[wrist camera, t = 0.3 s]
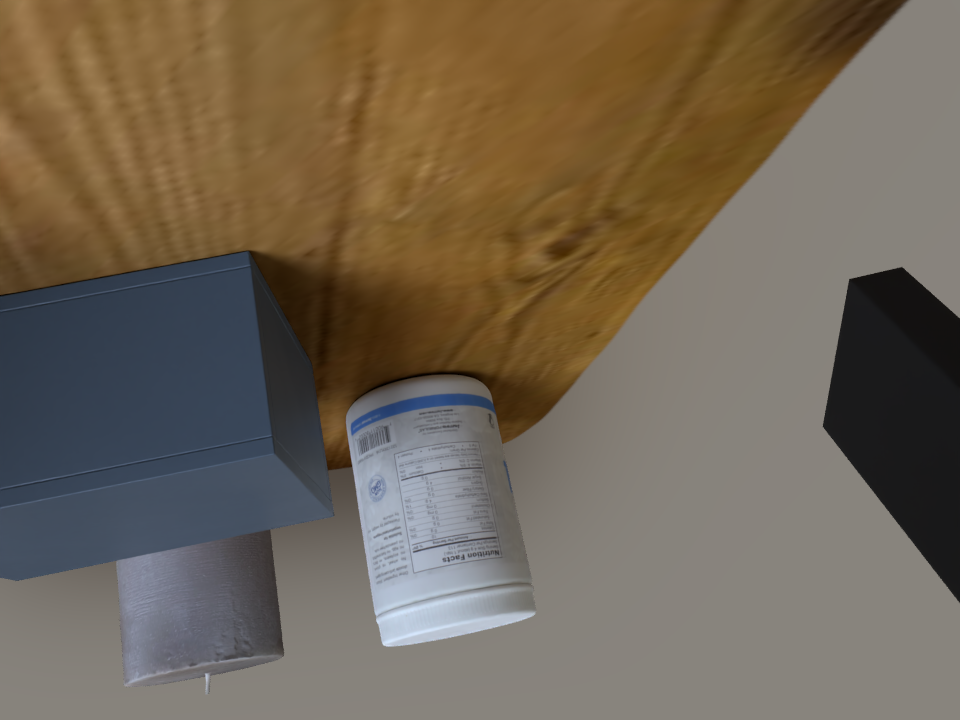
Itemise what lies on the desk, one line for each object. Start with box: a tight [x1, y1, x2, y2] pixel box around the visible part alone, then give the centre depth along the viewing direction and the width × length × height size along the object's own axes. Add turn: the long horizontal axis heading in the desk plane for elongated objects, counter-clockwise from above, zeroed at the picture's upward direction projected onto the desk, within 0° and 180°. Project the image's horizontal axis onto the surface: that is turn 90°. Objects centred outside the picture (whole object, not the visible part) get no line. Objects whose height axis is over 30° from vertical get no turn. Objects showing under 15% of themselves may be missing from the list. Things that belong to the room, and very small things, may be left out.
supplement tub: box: [346, 374, 536, 647], centre depth 54 cm, size 10×10×15 cm
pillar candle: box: [117, 530, 284, 694], centre depth 56 cm, size 10×10×15 cm
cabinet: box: [0, 251, 334, 581], centre depth 39 cm, size 16×13×8 cm
